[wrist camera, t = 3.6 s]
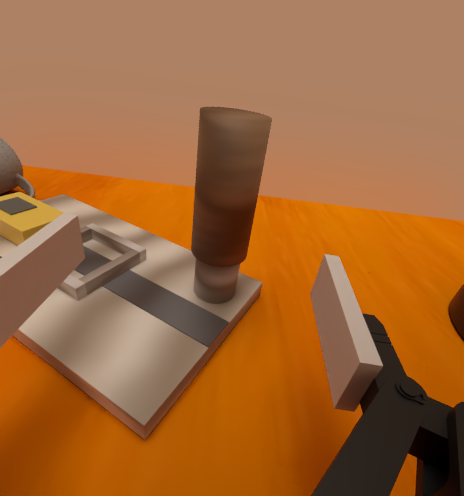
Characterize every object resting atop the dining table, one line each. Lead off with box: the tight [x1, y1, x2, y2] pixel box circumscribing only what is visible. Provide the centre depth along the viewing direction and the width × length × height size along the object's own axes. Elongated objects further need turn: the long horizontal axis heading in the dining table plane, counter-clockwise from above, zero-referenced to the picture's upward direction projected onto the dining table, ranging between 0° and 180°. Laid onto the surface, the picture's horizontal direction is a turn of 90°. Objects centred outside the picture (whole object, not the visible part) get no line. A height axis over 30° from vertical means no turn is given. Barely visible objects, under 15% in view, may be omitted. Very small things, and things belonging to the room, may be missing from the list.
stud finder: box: [0, 192, 63, 245], centre depth 29 cm, size 8×4×2 cm, turn 61°
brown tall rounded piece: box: [191, 107, 272, 304], centre depth 22 cm, size 4×4×14 cm
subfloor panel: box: [0, 194, 262, 440], centre depth 26 cm, size 28×15×3 cm, turn 61°
